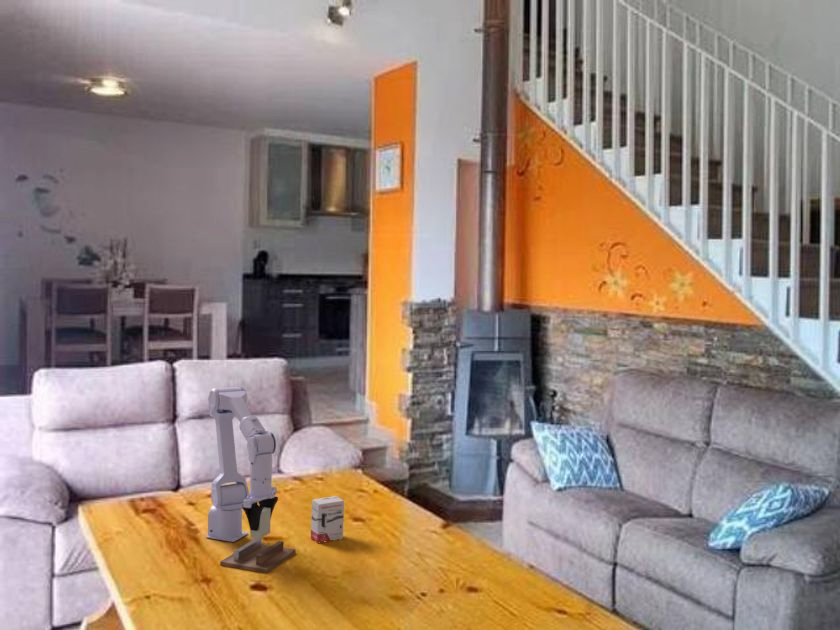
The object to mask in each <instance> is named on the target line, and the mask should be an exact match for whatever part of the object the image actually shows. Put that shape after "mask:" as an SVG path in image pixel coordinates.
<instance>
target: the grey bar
mask: <svg viewBox="0 0 840 630" xmlns="http://www.w3.org/2000/svg"><path fill="white" fill-rule="evenodd" d="M262 539H263V538H261V539H256V538H252V540H250V541H248V542H247V543H245V544H243V545H242V546H240V547H239V548H237V549H235V550H234V551H233V554H234V561H240V560H241V559H243V558H245V557H246V556H248V555H249V554H251V553H252V552H254V551H256V550H257V549H259V548H260V547H262V544H263V542H262Z"/></svg>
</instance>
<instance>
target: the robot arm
mask: <svg viewBox="0 0 840 630" xmlns="http://www.w3.org/2000/svg"><path fill="white" fill-rule="evenodd" d="M207 401H208V409H209V410H208V411H209V416H210V417H211V418H214V421H215V432H216V440H217V441H216V442H217V452H218V464H219V475H218V476H217V477H216V478H215V479H214V480H212V482H211V492H210V500H211V503H212V506H211V507H210V509H209V511H208V514H207V515H208V516H207V535H206V536H205V538H208V539H212V540H218V541H219V540H220V541H225V542H229V543H235V542H236V541H238V540H240V539H242V538H243V537H245V536H247V535H249V533H248V532H249V531H243V512H244V513H245V516H246V518H247V522H248V526H249V529H250V530H254V531H257V530H258V529H259V523H260V516H261V512H262V510H263V508H264V507H268V508H271V517H270V521H271V519H272V515H273V511H274V509H275V506H276V505H277V502H278V501H279V497H278V496H276V495H277V494H278V488H277V487H276V486H272V476H273V474H272V472H273V469H272V468H273V467H272V466H273V454H274V453H275V452H276V450H277V439H276V436H275V434H274V433H273V432H271V431H268V430H266V429H265V428H264V426H263V424H262V422H261V421H260V420H259V418H258V417H257V416H256V415H252V413H251V411H250V408H249V407H248V404H247V401H248V394H247V390H246V388H244V387H243V386H242V385H241V386H235V387H233V386H231V387H220V388H216V387H214V388H211V390H210V391H209V394H208V400H207ZM235 417H236V419H237V420H238V421H239V425H238V427H239V430H240V432H241V434H242V436H243V437H244V439H245V440H246V449H247V450H246V451H247V453H248V461H249V462H250V464H249V465H250V467H249V469H250V470H249V471H250V472H249V473H250V474H249V477H250V478H249V487H248V483H247V479H246V477H245V476H243V475H241V474H240V473H238V467H237V465H238V464H237V455H236V454H237V453H236V447H235V446H236V445H235V435H234V425H233V419H234V418H235Z"/></svg>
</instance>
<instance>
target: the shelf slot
mask: <svg viewBox="0 0 840 630" xmlns="http://www.w3.org/2000/svg"><path fill="white" fill-rule="evenodd" d="M296 552H297V551H296V549H295V548H289V547H284V541H282V540H277V541H276V542H275V543H273V544H264V543H262V547H260V548H259V549H257V550H256V551H254V552H252V553H251V554H249V555H248V556H246V557H245V558H243V559H241V560H240V561H234V553H232V554H230V555H229V556H227V557H225V558H224V559H222V560H220V562H219V563H220V564H219V565H220V566H222V565H223V566H224V567H228V568H234V569H240V570H245V571H251V572H256V573H257V572H258V573H263V574H268V573H269V572H270V571H272V570H273V569H276V567H278V566H280V564H282V563H283V562H285V561H286V560H287V558H288V559H289V558H291V557H292V556H293V555H295V554H296ZM294 553H295V554H294ZM223 566H222V567H223Z"/></svg>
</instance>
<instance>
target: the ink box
mask: <svg viewBox="0 0 840 630" xmlns="http://www.w3.org/2000/svg"><path fill="white" fill-rule="evenodd" d="M344 512H345V501H344V500H343V498H340V497H339V496H337V495H334V496H328V497H321V498H314V499H312V501H311V523H310V525H311V526H310V539H311V540H313V541H314V542H315V541H316V542H315V543H317V544H320V543H319V542H322V543H325V542H324V541H328V542H331V541H330V540H333V541H338V540H337V539H339V540H343V539H344V520H345V519H344V518H345V516H344ZM342 538H343V539H342Z"/></svg>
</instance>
